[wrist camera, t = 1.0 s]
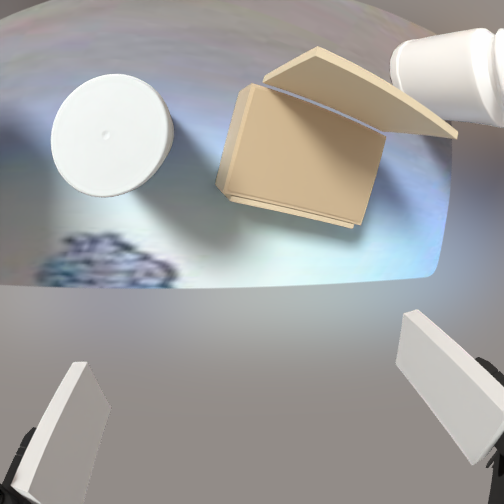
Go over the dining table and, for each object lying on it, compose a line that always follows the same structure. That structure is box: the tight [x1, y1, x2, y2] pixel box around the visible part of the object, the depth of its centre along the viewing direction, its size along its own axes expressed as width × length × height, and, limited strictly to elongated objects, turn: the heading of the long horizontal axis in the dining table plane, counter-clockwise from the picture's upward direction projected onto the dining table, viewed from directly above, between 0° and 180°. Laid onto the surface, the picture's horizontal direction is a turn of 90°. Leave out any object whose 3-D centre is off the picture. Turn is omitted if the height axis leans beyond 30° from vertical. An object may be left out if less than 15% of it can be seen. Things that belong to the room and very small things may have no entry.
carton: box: [215, 83, 386, 229], centre depth 34 cm, size 18×13×6 cm
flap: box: [263, 46, 458, 139], centre depth 24 cm, size 16×1×12 cm, turn 75°
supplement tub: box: [51, 74, 174, 197], centre depth 24 cm, size 10×10×15 cm
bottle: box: [390, 28, 504, 128], centre depth 24 cm, size 14×14×28 cm
